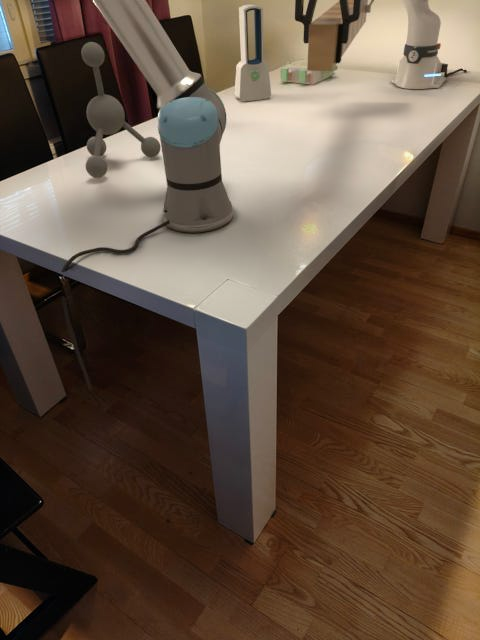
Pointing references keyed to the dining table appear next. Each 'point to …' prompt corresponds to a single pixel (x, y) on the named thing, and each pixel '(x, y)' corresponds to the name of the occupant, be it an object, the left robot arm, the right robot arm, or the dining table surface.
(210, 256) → the dining table surface
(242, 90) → the electronic device
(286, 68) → the white green flat box
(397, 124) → the dining table surface
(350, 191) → the dining table surface
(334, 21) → the post
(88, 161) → the molecular model
